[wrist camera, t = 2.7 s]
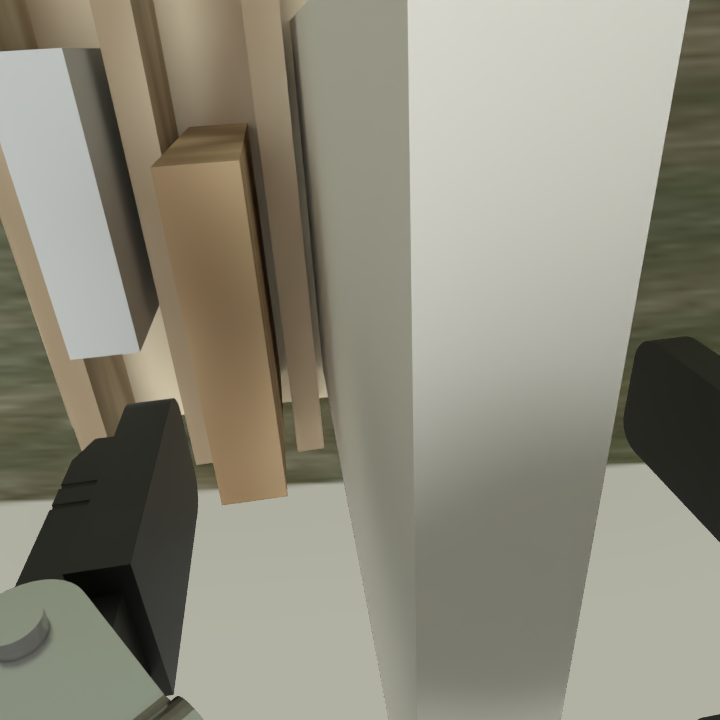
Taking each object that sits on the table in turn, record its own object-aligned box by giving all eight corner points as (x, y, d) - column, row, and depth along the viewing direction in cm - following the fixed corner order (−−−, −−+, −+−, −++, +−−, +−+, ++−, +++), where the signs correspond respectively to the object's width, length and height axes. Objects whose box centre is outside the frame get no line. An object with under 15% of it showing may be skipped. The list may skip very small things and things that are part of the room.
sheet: (349, 17, 20) (710, -117, 4) (368, 362, 26) (536, 859, 10) (289, 20, 19) (405, -107, 4) (322, 367, 26) (419, 884, 10)
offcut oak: (247, 122, 21) (239, 160, 14) (280, 372, 25) (287, 496, 18) (188, 127, 20) (150, 167, 13) (233, 378, 25) (222, 505, 18)
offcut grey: (117, 48, 19) (61, 47, 14) (168, 282, 23) (140, 352, 18) (52, 52, 19) (-29, 53, 14) (114, 287, 23) (70, 360, 17)
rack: (435, -37, 20) (485, -62, 16) (432, 370, 28) (466, 433, 23) (-61, -13, 19) (-166, -34, 14) (79, 412, 26) (41, 489, 22)
